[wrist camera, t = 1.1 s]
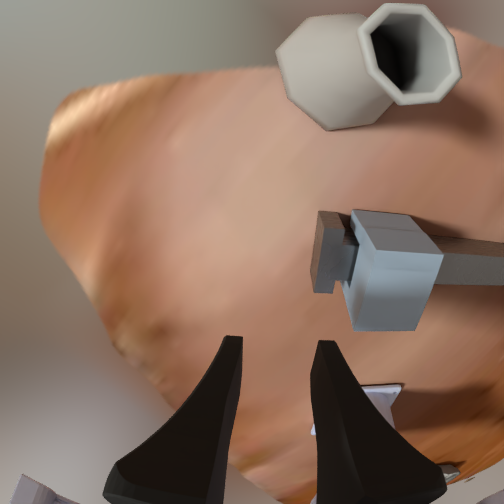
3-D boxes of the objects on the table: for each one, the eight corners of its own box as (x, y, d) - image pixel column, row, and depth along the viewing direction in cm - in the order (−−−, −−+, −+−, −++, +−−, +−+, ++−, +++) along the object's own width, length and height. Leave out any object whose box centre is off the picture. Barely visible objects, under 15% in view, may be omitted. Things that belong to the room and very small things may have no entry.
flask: (252, 47, 15) (228, -2, 6) (359, -4, 13) (434, -71, 4) (319, 150, 17) (365, 216, 9) (419, 99, 15) (531, 125, 7)
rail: (541, 290, 21) (568, 324, 16) (307, 286, 22) (314, 341, 17) (566, 229, 18) (600, 258, 13) (320, 191, 19) (337, 229, 14)
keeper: (391, 281, 21) (414, 330, 17) (339, 279, 21) (353, 331, 17) (408, 214, 19) (444, 254, 14) (352, 208, 19) (376, 250, 14)
